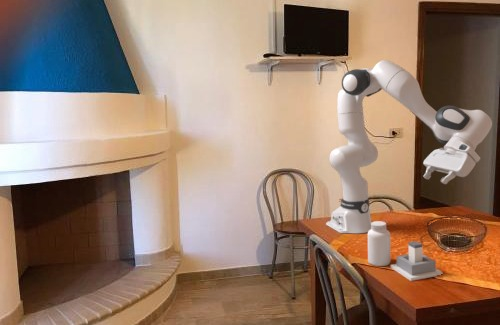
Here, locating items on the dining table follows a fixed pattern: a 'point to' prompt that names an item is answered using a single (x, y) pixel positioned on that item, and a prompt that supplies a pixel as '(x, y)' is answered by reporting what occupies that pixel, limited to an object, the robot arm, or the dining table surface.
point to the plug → (415, 252)
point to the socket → (416, 268)
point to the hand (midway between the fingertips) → (433, 180)
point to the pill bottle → (379, 244)
